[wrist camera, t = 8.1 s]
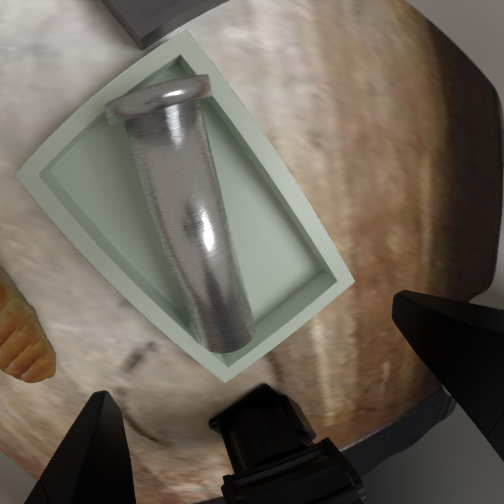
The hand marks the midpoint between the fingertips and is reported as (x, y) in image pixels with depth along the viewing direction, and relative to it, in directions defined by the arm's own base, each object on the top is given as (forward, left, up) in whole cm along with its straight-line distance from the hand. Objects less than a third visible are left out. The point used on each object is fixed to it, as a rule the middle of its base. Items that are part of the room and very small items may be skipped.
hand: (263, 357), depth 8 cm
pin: (-2, -5, -9) cm, 11 cm away
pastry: (-14, +5, -12) cm, 19 cm away
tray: (0, +1, -12) cm, 12 cm away
